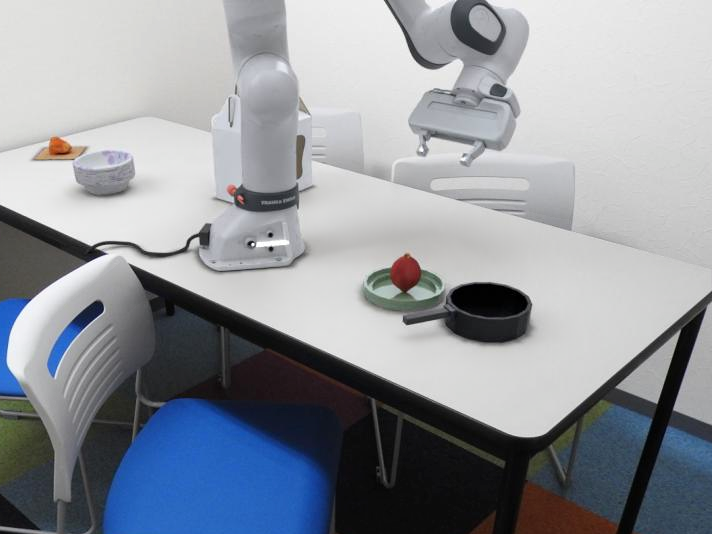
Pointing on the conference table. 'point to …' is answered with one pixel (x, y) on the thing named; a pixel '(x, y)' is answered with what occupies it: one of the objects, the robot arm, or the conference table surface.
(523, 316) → the pan
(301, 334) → the conference table surface
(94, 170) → the paper bowls
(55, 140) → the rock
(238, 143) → the gable box
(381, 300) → the plate
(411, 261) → the onion
